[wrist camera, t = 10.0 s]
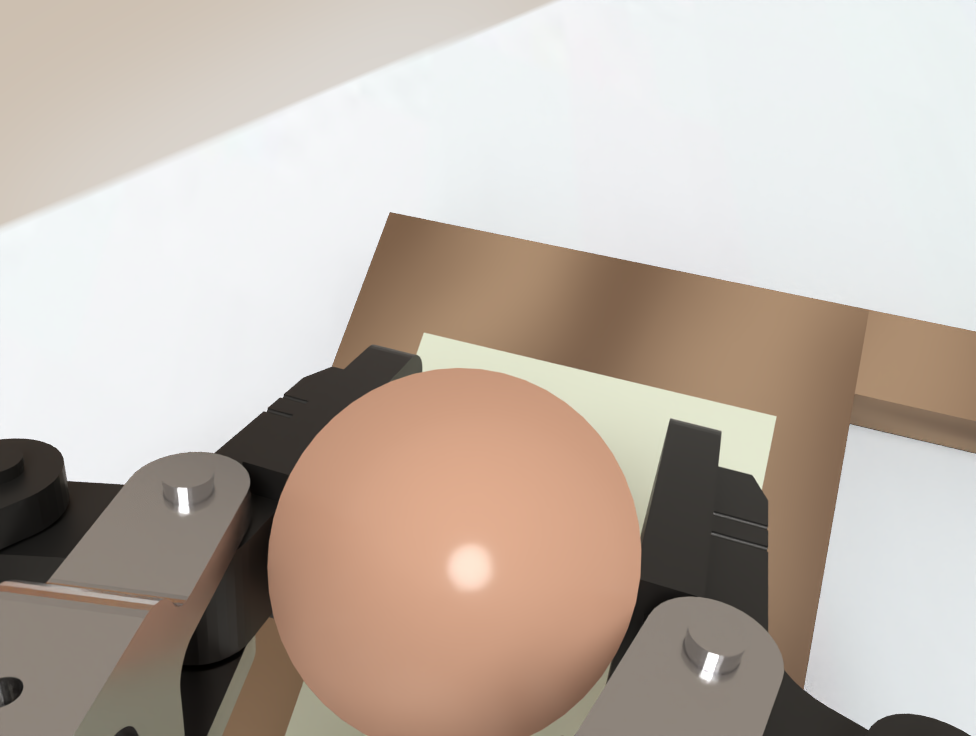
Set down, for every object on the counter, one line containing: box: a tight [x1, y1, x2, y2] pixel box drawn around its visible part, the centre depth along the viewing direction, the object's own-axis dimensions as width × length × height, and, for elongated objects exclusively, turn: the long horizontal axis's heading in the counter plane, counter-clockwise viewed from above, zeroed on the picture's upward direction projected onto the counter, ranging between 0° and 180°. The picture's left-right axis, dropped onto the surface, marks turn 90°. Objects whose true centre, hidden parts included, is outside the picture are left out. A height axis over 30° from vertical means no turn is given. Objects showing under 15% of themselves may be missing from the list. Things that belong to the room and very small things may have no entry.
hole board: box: [222, 212, 976, 736], centre depth 16 cm, size 24×16×2 cm, turn 73°
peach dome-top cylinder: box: [267, 368, 641, 736], centre depth 12 cm, size 4×4×8 cm
